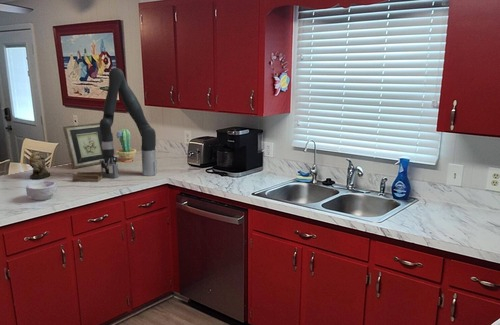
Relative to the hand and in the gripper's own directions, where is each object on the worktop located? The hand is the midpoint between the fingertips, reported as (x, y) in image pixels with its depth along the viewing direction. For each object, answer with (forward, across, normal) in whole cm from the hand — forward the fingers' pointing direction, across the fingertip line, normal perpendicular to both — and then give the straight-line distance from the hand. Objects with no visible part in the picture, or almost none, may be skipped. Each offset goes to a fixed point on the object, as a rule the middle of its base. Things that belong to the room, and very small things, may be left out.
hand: (109, 173), depth 275 cm
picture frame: (+3, -20, -40) cm, 45 cm away
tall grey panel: (+3, 0, 0) cm, 3 cm away
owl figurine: (+3, +22, -40) cm, 46 cm away
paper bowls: (+3, +52, +2) cm, 52 cm away
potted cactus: (+3, -44, -26) cm, 51 cm away
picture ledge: (+3, +12, -7) cm, 14 cm away
